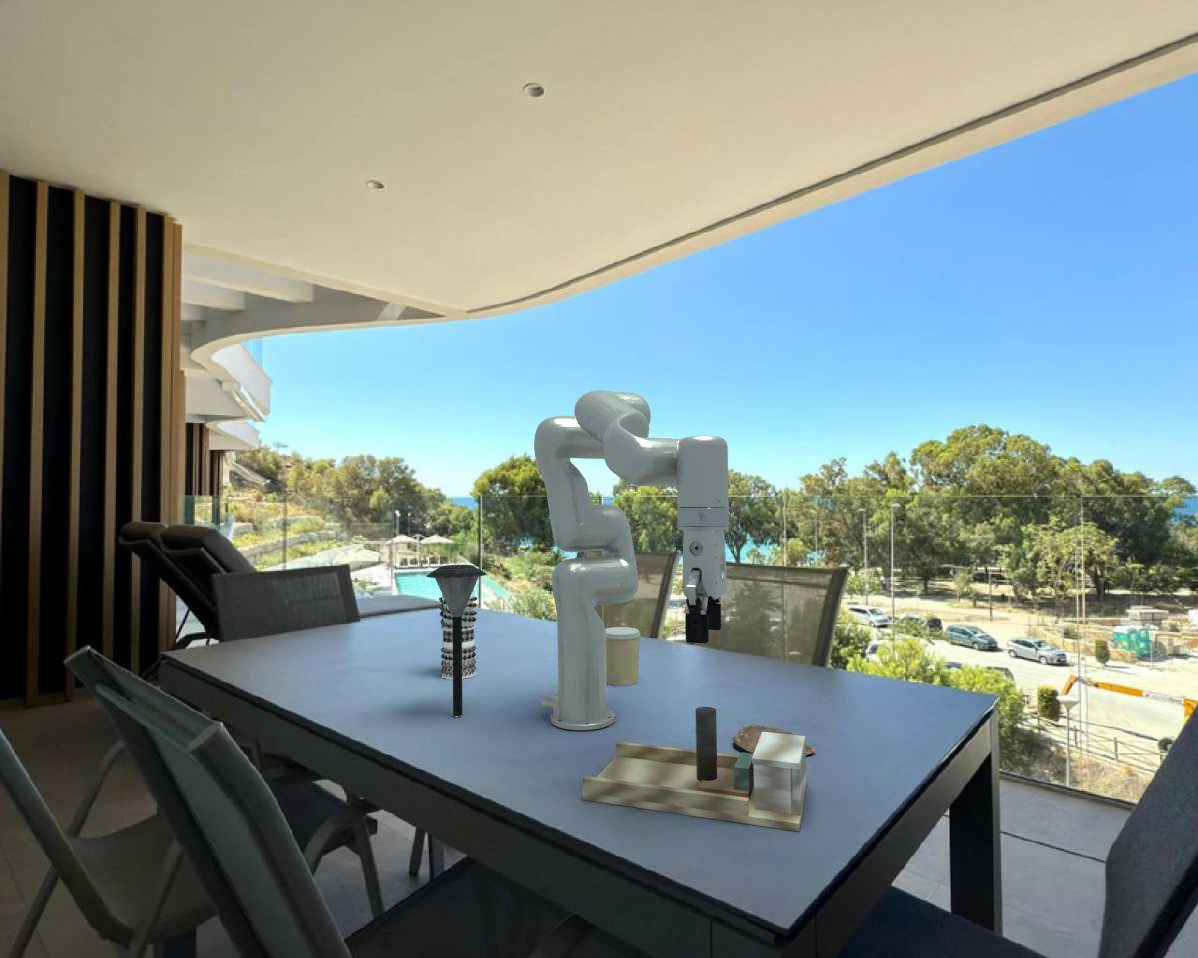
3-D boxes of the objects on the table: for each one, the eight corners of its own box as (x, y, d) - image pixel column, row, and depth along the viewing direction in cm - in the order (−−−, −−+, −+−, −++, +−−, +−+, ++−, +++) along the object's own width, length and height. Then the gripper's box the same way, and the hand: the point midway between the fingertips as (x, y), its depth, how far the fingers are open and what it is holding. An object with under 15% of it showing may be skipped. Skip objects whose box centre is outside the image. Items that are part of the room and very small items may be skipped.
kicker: (691, 793, 98) (689, 716, 98) (702, 771, 106) (701, 701, 106) (748, 800, 95) (746, 722, 96) (755, 778, 103) (754, 705, 103)
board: (582, 799, 99) (582, 744, 100) (618, 759, 114) (617, 712, 115) (799, 831, 89) (798, 770, 89) (807, 783, 104) (806, 730, 104)
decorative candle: (470, 681, 166) (469, 576, 166) (433, 680, 167) (433, 576, 168) (482, 671, 175) (482, 572, 176) (447, 670, 176) (447, 572, 177)
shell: (763, 768, 111) (762, 745, 111) (720, 743, 123) (719, 722, 123) (820, 756, 116) (819, 735, 116) (773, 733, 127) (773, 713, 127)
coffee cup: (641, 676, 168) (641, 626, 168) (640, 687, 159) (639, 634, 159) (603, 676, 169) (603, 626, 169) (599, 686, 160) (599, 634, 160)
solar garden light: (501, 714, 139) (499, 565, 140) (450, 730, 130) (449, 570, 131) (463, 703, 148) (462, 562, 148) (413, 717, 138) (413, 566, 139)
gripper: (717, 522, 93) (718, 650, 93) (737, 517, 109) (738, 626, 109) (663, 521, 96) (664, 646, 95) (690, 517, 112) (692, 623, 112)
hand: (704, 635), depth 102 cm, fingers open, 9 cm apart
